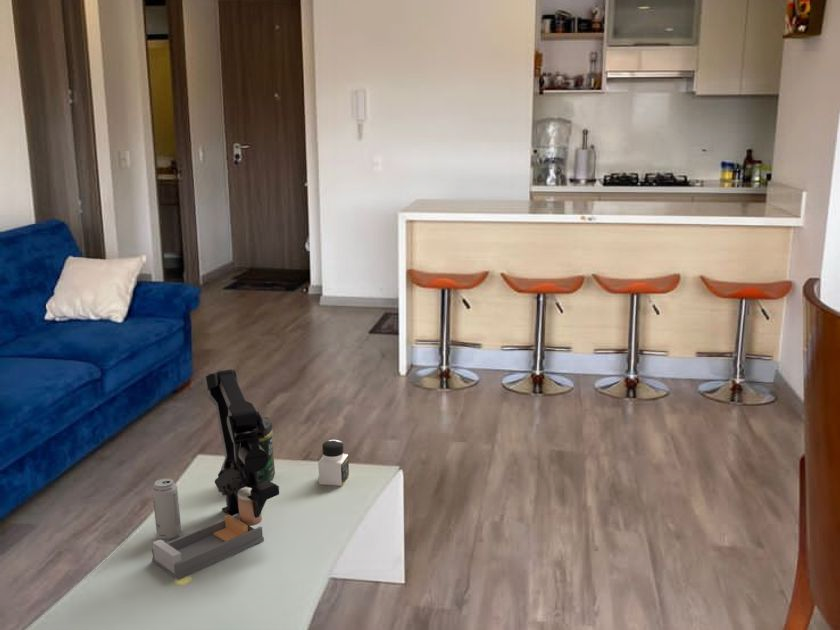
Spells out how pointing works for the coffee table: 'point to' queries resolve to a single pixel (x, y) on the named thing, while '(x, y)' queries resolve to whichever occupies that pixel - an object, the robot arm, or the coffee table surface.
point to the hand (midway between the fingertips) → (250, 513)
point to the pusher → (231, 529)
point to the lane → (201, 549)
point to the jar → (247, 508)
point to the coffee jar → (267, 450)
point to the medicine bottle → (333, 464)
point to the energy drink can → (166, 509)
